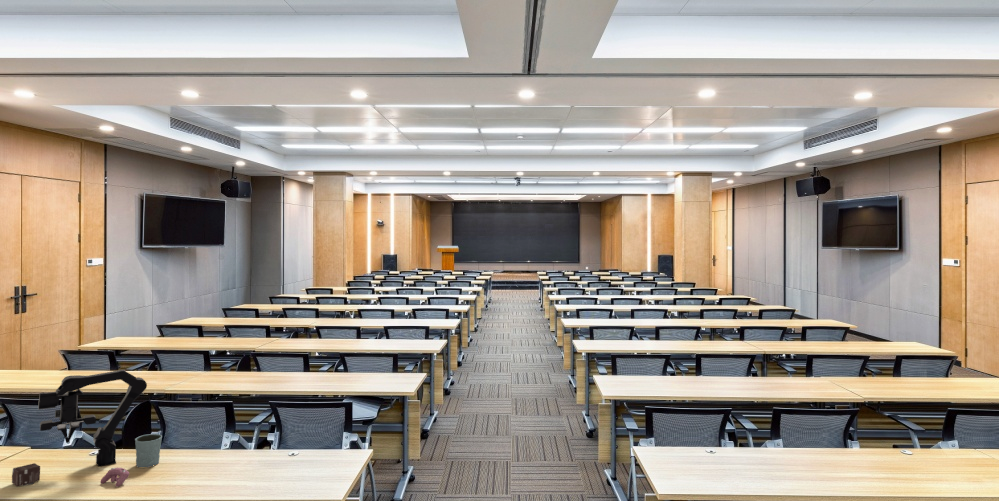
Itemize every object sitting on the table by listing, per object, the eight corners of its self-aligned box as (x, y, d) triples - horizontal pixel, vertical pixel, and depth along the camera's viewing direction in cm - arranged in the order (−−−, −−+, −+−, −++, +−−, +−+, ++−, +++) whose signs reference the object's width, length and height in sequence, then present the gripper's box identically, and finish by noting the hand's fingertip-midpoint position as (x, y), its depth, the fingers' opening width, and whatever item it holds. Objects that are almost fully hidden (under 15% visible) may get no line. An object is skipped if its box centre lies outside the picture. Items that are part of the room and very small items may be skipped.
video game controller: (125, 488, 225) (133, 470, 228) (116, 487, 221) (124, 468, 224) (107, 484, 228) (115, 466, 231) (98, 483, 224) (106, 465, 227)
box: (40, 480, 225) (17, 487, 219) (34, 477, 228) (11, 483, 222) (40, 466, 225) (17, 471, 219) (34, 462, 228) (12, 468, 222)
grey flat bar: (33, 474, 232) (33, 473, 232) (33, 483, 223) (33, 483, 223) (23, 476, 230) (23, 475, 230) (23, 485, 221) (23, 485, 221)
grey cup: (155, 458, 253) (156, 432, 253) (165, 463, 247) (166, 437, 247) (130, 465, 245) (131, 437, 245) (140, 470, 239) (140, 442, 239)
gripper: (94, 398, 249) (92, 433, 249) (40, 405, 237) (38, 441, 237) (96, 404, 241) (95, 440, 240) (41, 411, 228) (39, 448, 228)
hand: (67, 442), depth 237 cm, fingers closed
